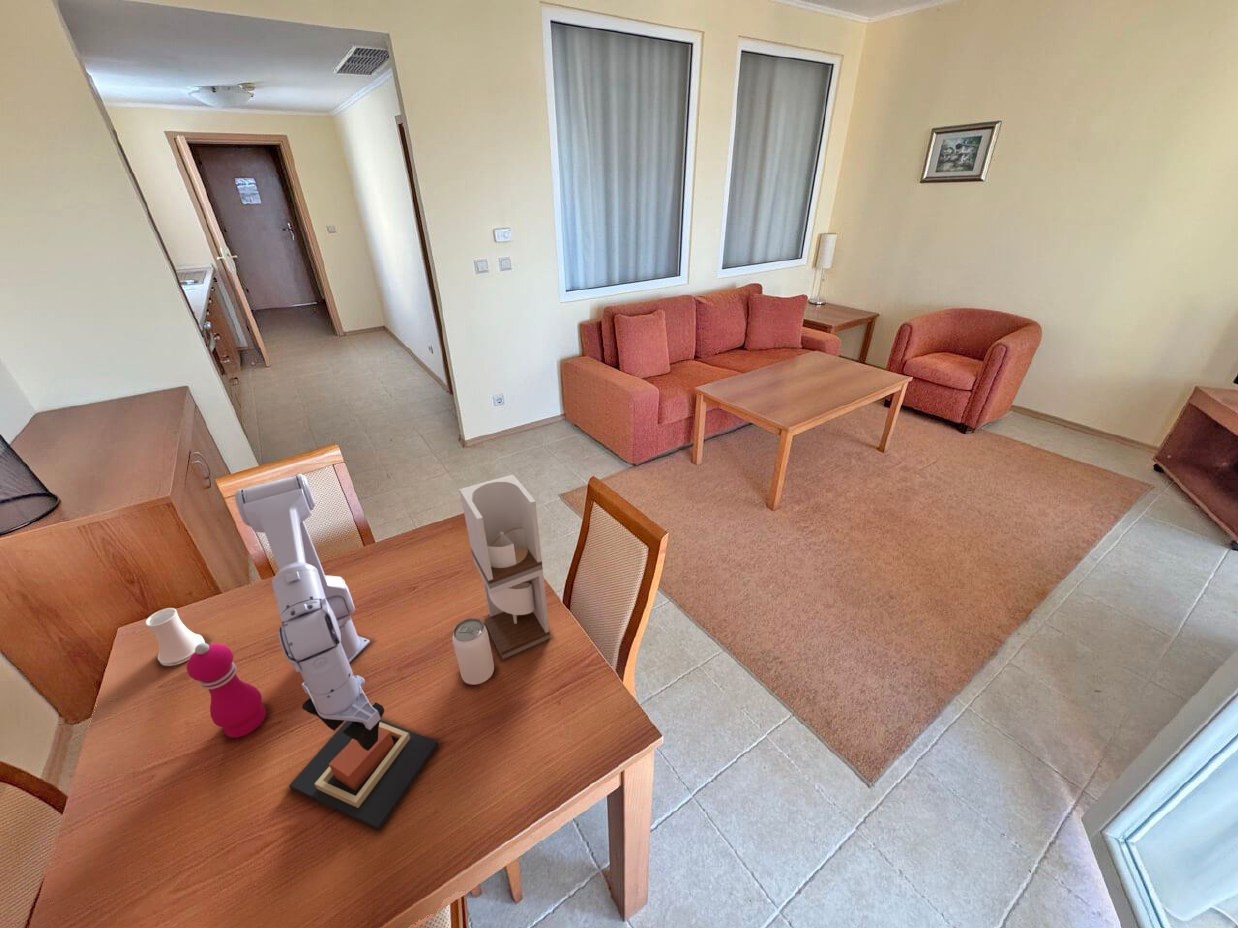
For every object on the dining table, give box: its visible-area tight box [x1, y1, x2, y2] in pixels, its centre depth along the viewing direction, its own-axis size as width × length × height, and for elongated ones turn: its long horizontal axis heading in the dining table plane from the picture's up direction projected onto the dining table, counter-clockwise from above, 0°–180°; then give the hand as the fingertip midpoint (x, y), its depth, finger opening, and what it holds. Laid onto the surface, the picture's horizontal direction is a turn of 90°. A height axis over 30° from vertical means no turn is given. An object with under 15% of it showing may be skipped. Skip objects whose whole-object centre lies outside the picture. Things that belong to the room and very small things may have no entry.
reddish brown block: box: [329, 727, 395, 791], centre depth 81 cm, size 5×8×4 cm, turn 154°
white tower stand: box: [459, 474, 551, 660], centre depth 100 cm, size 11×11×35 cm
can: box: [452, 617, 495, 686], centre depth 96 cm, size 6×6×12 cm
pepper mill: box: [186, 642, 267, 739], centre depth 85 cm, size 7×7×20 cm
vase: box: [145, 607, 206, 667], centre depth 102 cm, size 8×8×10 cm
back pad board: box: [288, 719, 439, 831], centre depth 82 cm, size 18×14×2 cm
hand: (354, 734), depth 79 cm, fingers open, 7 cm apart
